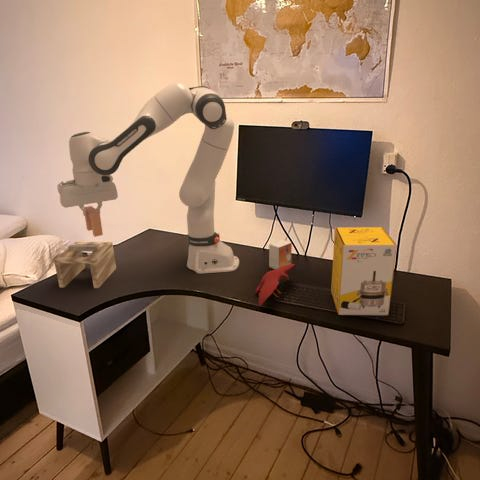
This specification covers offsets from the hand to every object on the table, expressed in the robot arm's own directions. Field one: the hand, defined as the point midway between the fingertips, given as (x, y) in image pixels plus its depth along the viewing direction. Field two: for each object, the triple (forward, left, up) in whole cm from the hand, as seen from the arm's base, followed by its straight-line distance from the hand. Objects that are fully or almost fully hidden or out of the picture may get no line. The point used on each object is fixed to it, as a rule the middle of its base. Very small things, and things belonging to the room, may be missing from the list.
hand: (92, 214), depth 152 cm
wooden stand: (+7, -3, -28) cm, 29 cm away
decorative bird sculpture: (-68, +9, -28) cm, 74 cm away
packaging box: (-98, +13, -28) cm, 103 cm away
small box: (-71, -16, -28) cm, 78 cm away
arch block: (0, 0, -7) cm, 7 cm away
